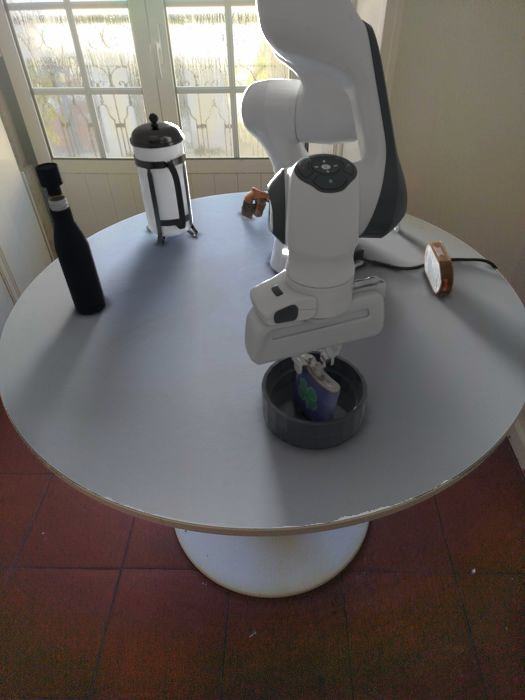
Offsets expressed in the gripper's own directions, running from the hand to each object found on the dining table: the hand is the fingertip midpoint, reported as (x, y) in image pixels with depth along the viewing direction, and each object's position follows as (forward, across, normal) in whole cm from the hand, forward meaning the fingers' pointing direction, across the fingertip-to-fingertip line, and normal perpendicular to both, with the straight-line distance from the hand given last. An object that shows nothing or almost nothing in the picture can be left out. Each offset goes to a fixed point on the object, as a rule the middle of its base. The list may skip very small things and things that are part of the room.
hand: (313, 367), depth 70 cm
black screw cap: (+10, 0, 0) cm, 10 cm away
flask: (+9, 0, +1) cm, 9 cm away
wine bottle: (+10, +32, -45) cm, 56 cm away
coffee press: (+10, +8, -72) cm, 73 cm away
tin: (+10, -41, -25) cm, 49 cm away
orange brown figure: (+10, -17, -75) cm, 78 cm away
